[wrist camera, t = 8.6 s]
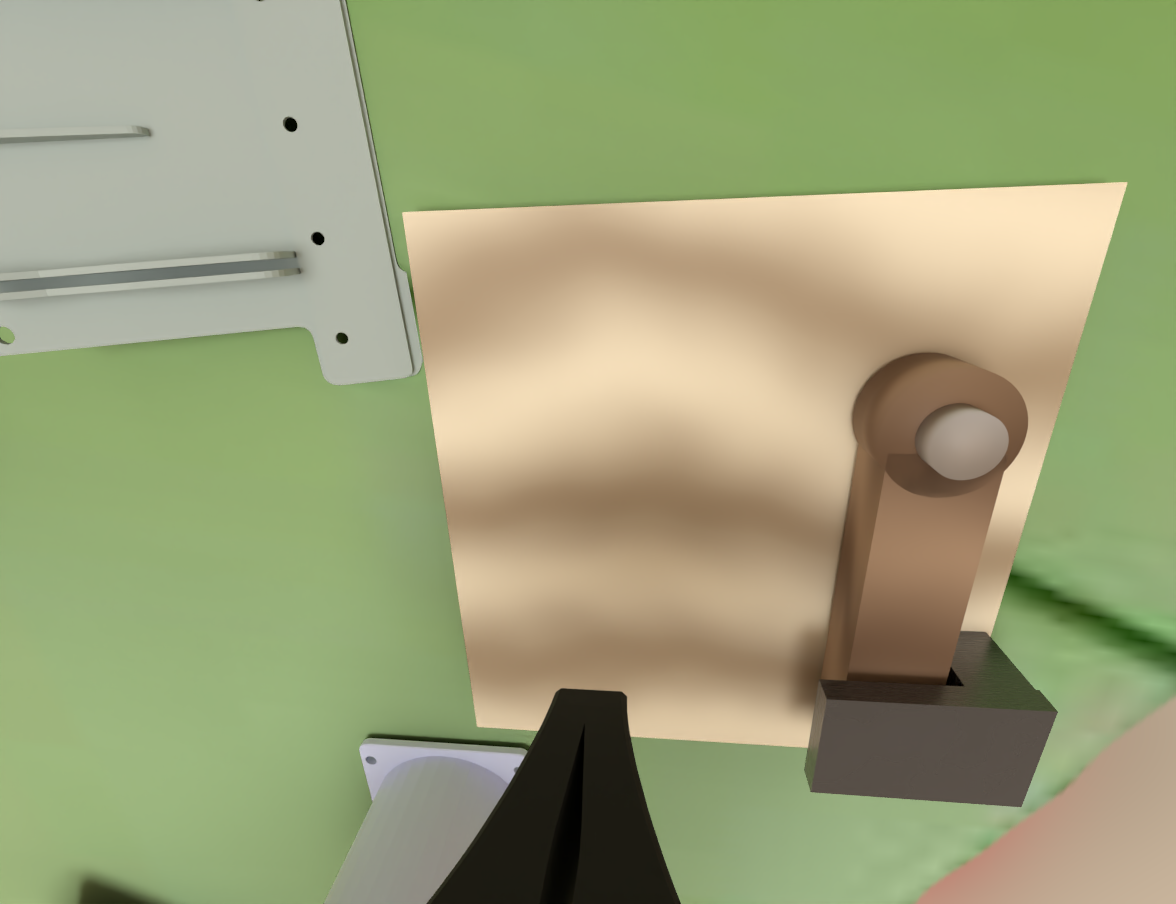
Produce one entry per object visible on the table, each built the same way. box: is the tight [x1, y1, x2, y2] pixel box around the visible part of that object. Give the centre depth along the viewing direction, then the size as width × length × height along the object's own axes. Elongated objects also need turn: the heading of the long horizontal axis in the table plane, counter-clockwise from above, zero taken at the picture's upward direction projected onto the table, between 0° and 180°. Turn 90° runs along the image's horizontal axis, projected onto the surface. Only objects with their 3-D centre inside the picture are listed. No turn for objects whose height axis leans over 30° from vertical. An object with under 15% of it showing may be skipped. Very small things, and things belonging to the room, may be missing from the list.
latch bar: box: [821, 353, 1028, 686], centre depth 17 cm, size 14×4×3 cm, turn 2°
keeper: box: [804, 631, 1058, 807], centre depth 18 cm, size 4×6×3 cm, turn 92°
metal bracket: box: [0, 0, 423, 385], centre depth 16 cm, size 14×6×15 cm
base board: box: [402, 182, 1128, 748], centre depth 19 cm, size 20×19×1 cm
